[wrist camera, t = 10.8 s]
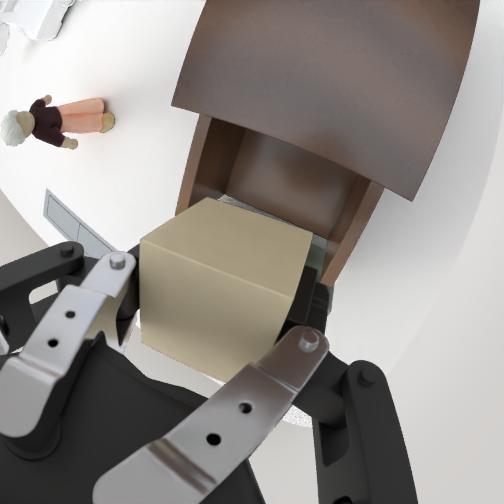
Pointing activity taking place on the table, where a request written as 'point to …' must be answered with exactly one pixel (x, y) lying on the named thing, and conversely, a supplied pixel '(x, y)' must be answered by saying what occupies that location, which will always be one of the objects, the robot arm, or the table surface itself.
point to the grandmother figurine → (56, 122)
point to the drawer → (281, 188)
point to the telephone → (31, 19)
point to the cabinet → (335, 77)
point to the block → (218, 285)
